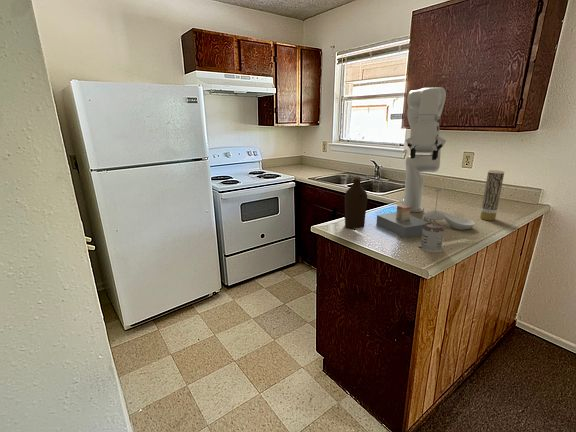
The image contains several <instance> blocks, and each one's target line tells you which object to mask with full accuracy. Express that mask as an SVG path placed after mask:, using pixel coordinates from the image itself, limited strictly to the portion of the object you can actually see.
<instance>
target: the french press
mask: <svg viewBox="0 0 576 432" xmlns="http://www.w3.org/2000/svg"><path fill="white" fill-rule="evenodd" d="M441 191H442V190H441V188H439V187H438V188H436V189H435V192H437V194H436V203H435V206H437V205H438V204H437V203H438V197H439V193H440V192H441ZM434 211H435V212H429V211H427V212H428V213H427V212H426V214H425V213H424V214H423V215H424V216H425V219H429V223H425V224H424V226H425V227H423V229H422V233H423V234H422V235H421V237H420V238H421V239H420V246H418V249H420V250H422V251H424V252H428V253H441V252H443V251H444V250H445V249H444V247H443V246H442V245H443V239H444V233H445V230H444V225H442V224H441V223H438V222H437V223H436V221H443V220H445V218H446V216H445V215H443V214H441V213H439V212H436V211H437V207H435V210H434ZM432 221H433V222H432Z"/></svg>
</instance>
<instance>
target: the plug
mask: <svg viewBox="0 0 576 432" xmlns="http://www.w3.org/2000/svg"><path fill="white" fill-rule="evenodd" d="M410 210H411V207H409V206H406V205H402V204H400V205H396V212H397V213H396V219H398V220H401V221H406V220H409V219H410V216H411V212H410Z"/></svg>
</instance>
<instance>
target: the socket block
mask: <svg viewBox="0 0 576 432" xmlns="http://www.w3.org/2000/svg"><path fill="white" fill-rule="evenodd" d="M396 213H397V211H395V212H389V213H384V214H383V213H382V214H377V215H376V226H378V227H381V228H382V229H384V230H387V231H389V232H391V233H393V234H395V235H397V236H399V237H401V238H404V239H407V238H414V237H418V236H422V234H423V233H422V229H423V227H425V226H424V224H425V223H430V221H429V222H428V221H426V220H424V221H423V220H421V219H422V218H417V217H415V216H413V215H410V219H409V220H406V221H401V220H398V219H396Z"/></svg>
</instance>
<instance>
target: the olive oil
mask: <svg viewBox="0 0 576 432" xmlns="http://www.w3.org/2000/svg"><path fill="white" fill-rule="evenodd" d="M367 206H368V193H367V191H366V190H365V188H364V187H362V185H361V176H360V175H359V176H353V180H352V185H351V186H350V187H349V188H348V189H347V190H346V191H345V193H344V227H345V228H346V229H349V230H354V231H357V229H361V228H364V227H365V223H366V214H367Z"/></svg>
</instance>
